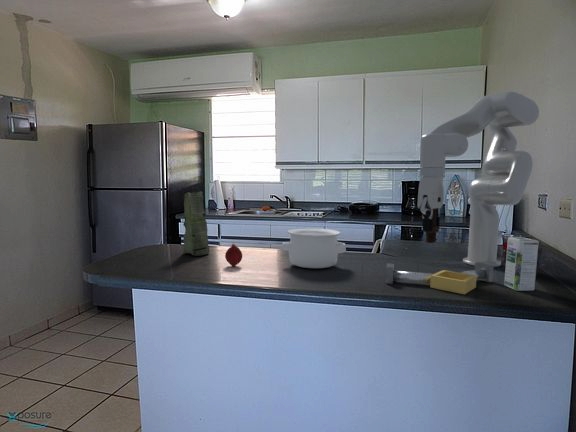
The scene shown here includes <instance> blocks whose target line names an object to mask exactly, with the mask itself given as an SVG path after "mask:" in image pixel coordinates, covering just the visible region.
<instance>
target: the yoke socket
mask: <svg viewBox="0 0 576 432" xmlns="http://www.w3.org/2000/svg"><path fill="white" fill-rule="evenodd" d="M459 272H460V271H459ZM459 272H458V271H454V270H453V271H452V270H448V269H447V270H446V269H443V270H440V271H438V272H435V273H432V274H433V275H431V282H430V284H429V285H430V286H429V287H430V288H431V289H436V290H440V291H445V292H446V291H447V292H452V293H455V294H456V293H457V294H461V295H466V294H467V293H469V292H471V291H472V290H474V289H475V288H477V280H476V278H477V276H476V275H471V274H465V273H459Z"/></svg>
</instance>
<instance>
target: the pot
mask: <svg viewBox="0 0 576 432" xmlns="http://www.w3.org/2000/svg"><path fill="white" fill-rule="evenodd" d="M286 232H287V233H288V234H289V235H290V238H289V239H290V240H289V241H283V242H282V244H281V245H282V246H281V249H282V251H284V252H288V257H289V263H290V264H291V265H293V266H297V267H300V268H306V269H324V268H331V267H333V266H335V265H337V262H338V256H339V254H344V253H346V252H347V249H346V243H344V242H340V241H338V237H337V236H339V235H341V231H338V230H336V229H328V228H317V227H315V228H314V227H313V228H312V227H311V228H306V227H305V228H293V229H289V230H287V231H286Z"/></svg>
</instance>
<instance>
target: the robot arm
mask: <svg viewBox="0 0 576 432" xmlns="http://www.w3.org/2000/svg"><path fill="white" fill-rule="evenodd" d="M539 115H540V109H539V106H538V104H537V103H536V102H535V101H534V100H533V99H531V98H529V97H527V96H526V95H524V94H522V93H519V92H517V91H503V92H497V93H491V94H488V95H484V96H482V97H480V98H479V99H478V100H476V102H475V103H474V104H472V105H471V106H470V107H469V108H468V109H467V110H466V111H465V112H464V113H462V114H460V115H458V116H456V117H454V118H451V119H450V120H448V121H446V122H444V123H442V124H440V125H438V126H437V127H436V128H434V129H433V130H432V131H431V132H430V133H426V134H423V135H421V137H420V145H419V146H420V150H419V152H420V155H419V156H420V158H419V161H420V162H419V167H420V168H419V178H420V179H419V184H418V193H417V208H418V209H420V212H421V214H422V215H421V217H422V231H423V232H424V231H433V219H432V214H433V209H436V208H437V216H436V226H438V227H439V228H440V223H441V221H440V217H441V209H442V206H443V205H444V198H445V194H444V192H445V191H444V178H445V177H446V158H454V157H455V158H456V157H460V156H462V155H464V154H465V153H466V151H467V150H468V149H469V148H468V147H469V140H468V139H467V138H471V137H474V136H476V135H478V134H480V133H481V132H483V130H485V128H487V127H488V128H489V132H490V134H491V135H490V137H491V143H490V144H489V148H488V151H487V152H486V155H485V157H484V161H483V164H482V172H483V175H485V176H487V177H478V178H475V179H474V180H472V181H471V182H470V184H469V186H468V196H469V204H470V205H469V206H470V208H469V209H470V211H469V215H470V216H469V231H468V232H469V233H468V246H467V247H468V249H467V256H466V257H464V258H462V262H463V263H464V264H466V265H470V266H475V263H478V262H480V263H485V264H489V265H493V266H494V268H498V267H500V266H501V265H502V262H501V261H500V260H497V254H498V242H499V241H498V240H499V225H500V215H499V212H498V210H497V208H496V207H495V205H498V206H516V205H518V204H519V203H520V201H521V200H522V199H523V195H524V193H525V190H526V188H527V185H528V182H529V179H530V177H531V175H532V170H533V158H532V155H531V154H530V153H529V152H528V151H525V150H516V149H517V146H518V141H517V138H516V136H515V135H514V133H513V132H512V131H511V130H510V128H514V127H525V126H530V125H532V124H535V123H536V121H537V120H538V118H539ZM438 197H441V202H438ZM426 207H429V208H430V209H427V208H426ZM428 211H430V213H429V212H428Z"/></svg>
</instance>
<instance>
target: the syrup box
mask: <svg viewBox="0 0 576 432" xmlns="http://www.w3.org/2000/svg"><path fill="white" fill-rule="evenodd" d="M506 246H507V247H506V259H505V271H504V280H503V281H504V283H503V285H504V287H506V288H507V287H508V288H510V289H512V290H514V291H515V292H516V291H518V292H520V291H521V292H522V291H525V292H526V291H535V285H536V276H537V263H538V252H539V251H538V250H539V240H536V239H531V238H527V237H523V236H513V237H512V236H511V237H507V244H506Z"/></svg>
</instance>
